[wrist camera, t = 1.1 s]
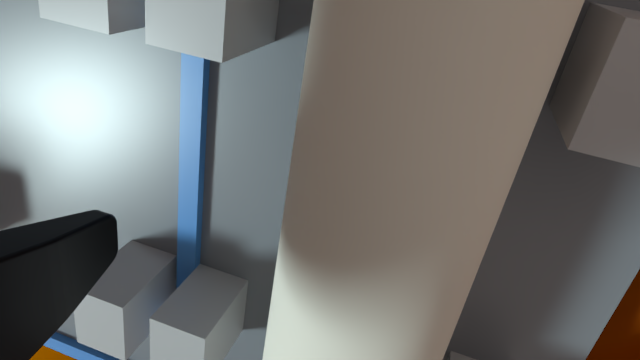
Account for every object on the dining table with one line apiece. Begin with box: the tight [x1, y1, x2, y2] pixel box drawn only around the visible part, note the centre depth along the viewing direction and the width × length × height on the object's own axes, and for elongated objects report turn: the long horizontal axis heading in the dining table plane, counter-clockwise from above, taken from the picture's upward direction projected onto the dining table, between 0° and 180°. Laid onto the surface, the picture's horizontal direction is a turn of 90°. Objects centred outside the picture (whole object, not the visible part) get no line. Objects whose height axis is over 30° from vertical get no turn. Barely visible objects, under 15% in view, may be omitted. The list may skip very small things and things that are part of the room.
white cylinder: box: [262, 0, 585, 360], centre depth 10 cm, size 12×4×4 cm, turn 171°
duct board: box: [0, 0, 640, 360], centre depth 12 cm, size 20×22×4 cm
